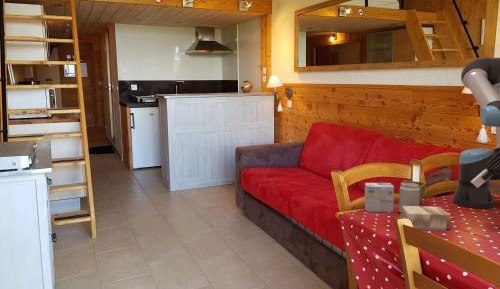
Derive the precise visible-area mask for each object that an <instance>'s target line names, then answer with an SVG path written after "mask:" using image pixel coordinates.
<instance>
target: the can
mask: <svg viewBox="0 0 500 289" xmlns="http://www.w3.org/2000/svg"><path fill="white" fill-rule="evenodd" d="M401 183H402V182H401ZM419 201H420V188H419V187H418V184H415V183H402V186H401V187H399V201H398V212H400V214H401V215H402V206H420V203H419Z"/></svg>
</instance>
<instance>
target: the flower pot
mask: <svg viewBox="0 0 500 289" xmlns="http://www.w3.org/2000/svg"><path fill="white" fill-rule="evenodd" d="M402 183H415V184H418V187H419V188H420V201H419V204H420V203H421V202H422V201H423V198H424V196H425V192H426V187H427V182H423V181H415V180H414V181H413V180H404V181H402V182H401V183H400V184H399V186H400V187H401V186H402ZM400 187H399V188H400Z"/></svg>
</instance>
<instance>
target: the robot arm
mask: <svg viewBox="0 0 500 289" xmlns="http://www.w3.org/2000/svg"><path fill="white" fill-rule="evenodd" d="M460 80H461V83H462V85H463V86H464V87H465V88H466V89H469V90H470V92H471V93H472V95H473V97H474V99H475V100H476V102H477V103H478V105H479V106H480V108H481V109H480V115H479V118H480V123H481V125H482V126H485V127H492V128H495V137H496V146H495V147H494V148H493V150H492V149H490V148H472V149H471V148H470V149H466V150H463V151H461V152H460V155H459V162H458V163H459V164H458V165H459V169H458V181H457V182H458V183H457V187H456V189H455V191H454V194H453V195H452V196H453V197H452V203H454V204H455V205H458V206H460V207H466V208H471V209H490V208H493V207H494V199H493V195H492V191H491V188H490V187H491V186H490V183H491V182H490V181H500V57H480V58H475V59H473V60H471V61H469V62H468V63H467V64H466V65H465V66H464V67H463V69H462V71H461V74H460Z"/></svg>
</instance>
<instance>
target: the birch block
mask: <svg viewBox="0 0 500 289" xmlns="http://www.w3.org/2000/svg"><path fill="white" fill-rule="evenodd" d="M451 216H452V215H451V214H450V213H449V212H448V211H447V210H445V208H443V207H442V206H427V205H426V206H421V205H419V206H402V214H401V217H405V218H407V219H409V220H411V222H412V224H413V226H414V227H415V228H439V229H446V230H450V229H451Z"/></svg>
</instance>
